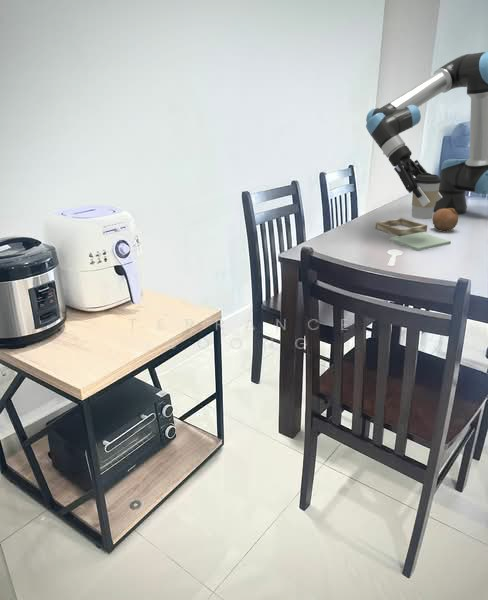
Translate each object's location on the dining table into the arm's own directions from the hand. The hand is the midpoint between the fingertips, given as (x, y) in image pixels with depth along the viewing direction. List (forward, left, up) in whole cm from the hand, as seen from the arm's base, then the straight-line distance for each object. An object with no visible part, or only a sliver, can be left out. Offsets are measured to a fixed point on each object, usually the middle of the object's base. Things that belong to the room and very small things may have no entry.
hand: (432, 201), depth 154 cm
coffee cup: (+1, -3, -6) cm, 7 cm away
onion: (-20, -10, -16) cm, 27 cm away
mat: (0, -3, -15) cm, 16 cm away
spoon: (+20, +5, -16) cm, 26 cm away
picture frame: (-6, -19, -15) cm, 25 cm away
